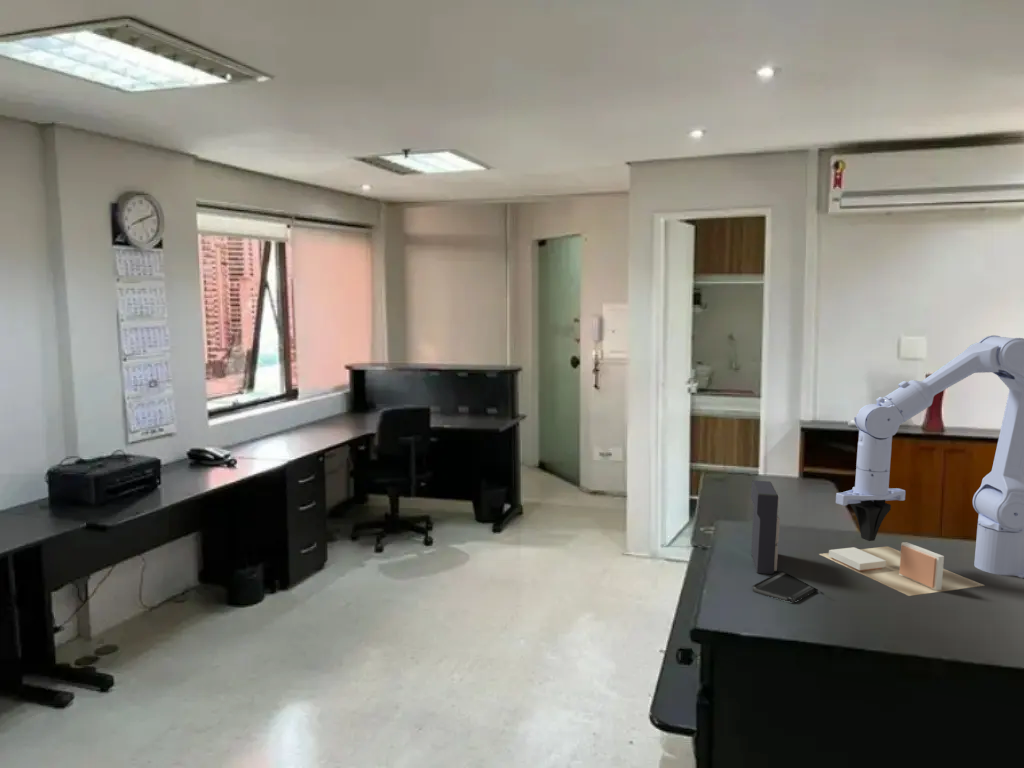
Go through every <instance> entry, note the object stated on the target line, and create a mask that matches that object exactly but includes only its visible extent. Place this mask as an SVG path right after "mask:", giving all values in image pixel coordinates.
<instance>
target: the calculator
mask: <svg viewBox="0 0 1024 768" xmlns="http://www.w3.org/2000/svg"><path fill="white" fill-rule="evenodd" d="M750 488H751V490H750V491H751V493H750V499H751V502H752V504H753V514H752V516H753V517H752V530H751V549H750V550H751V551H750V552H751V559H752V562H753V565H754V568H755V570H756V571H755V572H756V573H757V574H762V575H763V574H766V575H775V572H777V569H778V558H779V557H778V556H779V555H778V553H779V547H778V544H779V536H780V535H779V534H780V523H781V522H780V518H779V516H780V502H781V500H780V498H781V497H780V495H779V493H778V491H777V489H776V488H775V486H774V484H773V483H772V481H767V480H752V481H751V487H750Z"/></svg>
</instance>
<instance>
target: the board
mask: <svg viewBox="0 0 1024 768" xmlns="http://www.w3.org/2000/svg"><path fill="white" fill-rule="evenodd" d="M858 549H859V548H858ZM859 550H862V551H864V552H867V553H869V554H871V555H874V556H876V557H878V558H881V559H883V560H885V561H886V567H882V569H875V570H867V571H858V570H855V569H853V568H851V567H849V566H847V565H845V564H842V563H840V562H838V561H836V560H834V559H832V557H830V556H829V552H825V553H824V552H823V553H818V555H819V556H822V557H824V558H826V559H828V560H829V561H830V560H831V561H832V562H835V563H836V564H839V565H841V566H843V567H846V568H847V569H850V570H852V571H853V572H856V573H858V574H860V575H863V576H865V577H867V578H869V579H871V580H874V581H876V582H878V583H880V584H882V585H884V586H886V587H889V588H890V589H892V590H895V591H897V592H899V593H902V594H903V595H906V596H908V597H914V596H920V595H927V594H933V593H934V594H935V593H941V592H948V591H949V592H950V591H955V590H963V589H970V588H971V589H972V588H977V587H985V584H983V583H981V582H980V583H979V582H978V581H975V580H973V579H970V578H968V577H965V576H962V575H960V574H957V573H954V572H952V571H951V570H947V569H945V568H943V576H942V588H941V590H938V591H935V590H933V589H931V588H929V587H926V586H924V585H922V584H919V583H917V582H915V581H913V580H910V579H908V578H906V577H903V576H901V575H899V570H900V557H901V550H898V549H895V548H893V547H891V546H888V545H887V546H879V547H871V548H870V547H868V548H861V549H859Z"/></svg>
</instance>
